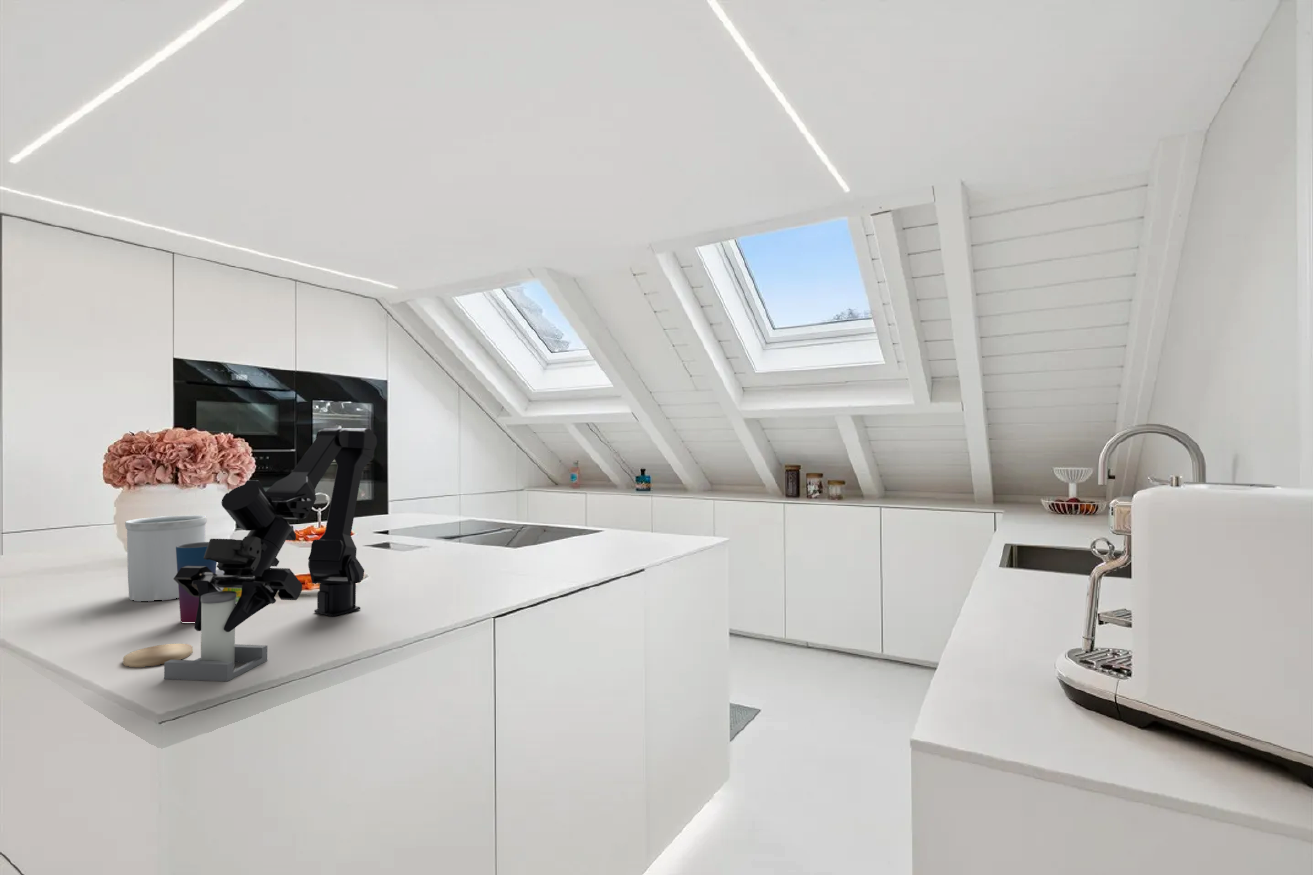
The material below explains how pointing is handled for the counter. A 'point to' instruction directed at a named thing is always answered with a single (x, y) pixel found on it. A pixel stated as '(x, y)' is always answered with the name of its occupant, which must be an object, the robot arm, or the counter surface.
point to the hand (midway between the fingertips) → (211, 630)
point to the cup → (191, 557)
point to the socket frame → (216, 665)
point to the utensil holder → (158, 553)
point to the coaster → (157, 655)
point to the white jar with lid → (217, 627)
